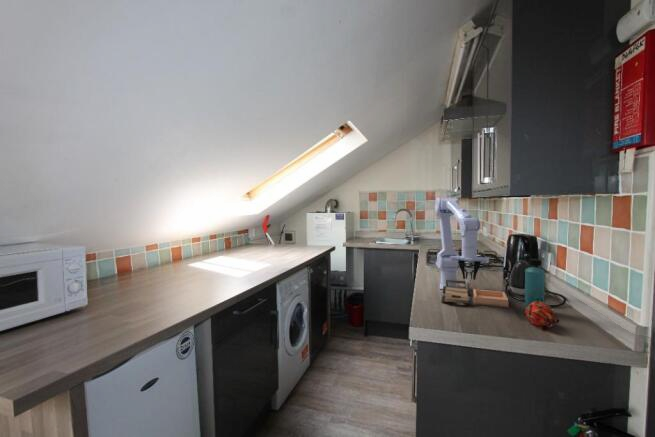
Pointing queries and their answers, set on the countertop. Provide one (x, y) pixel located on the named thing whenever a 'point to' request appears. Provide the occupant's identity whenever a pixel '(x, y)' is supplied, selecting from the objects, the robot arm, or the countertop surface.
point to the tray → (490, 298)
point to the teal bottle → (534, 283)
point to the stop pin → (468, 278)
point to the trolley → (456, 293)
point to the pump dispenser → (518, 277)
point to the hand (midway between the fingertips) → (469, 278)
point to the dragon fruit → (541, 315)
